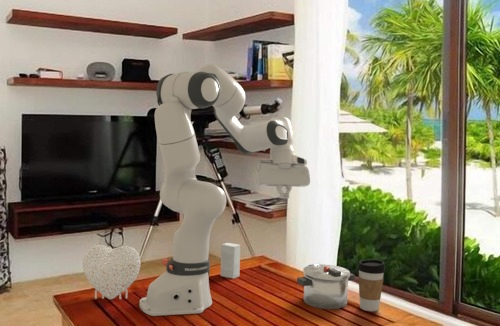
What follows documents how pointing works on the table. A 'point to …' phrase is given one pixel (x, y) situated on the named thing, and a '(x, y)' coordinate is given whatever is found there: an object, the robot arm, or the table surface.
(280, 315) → the table surface
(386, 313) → the table surface
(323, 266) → the lid
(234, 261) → the skincare box
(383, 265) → the coffee cup
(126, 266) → the decorative heart
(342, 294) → the cooker pot
